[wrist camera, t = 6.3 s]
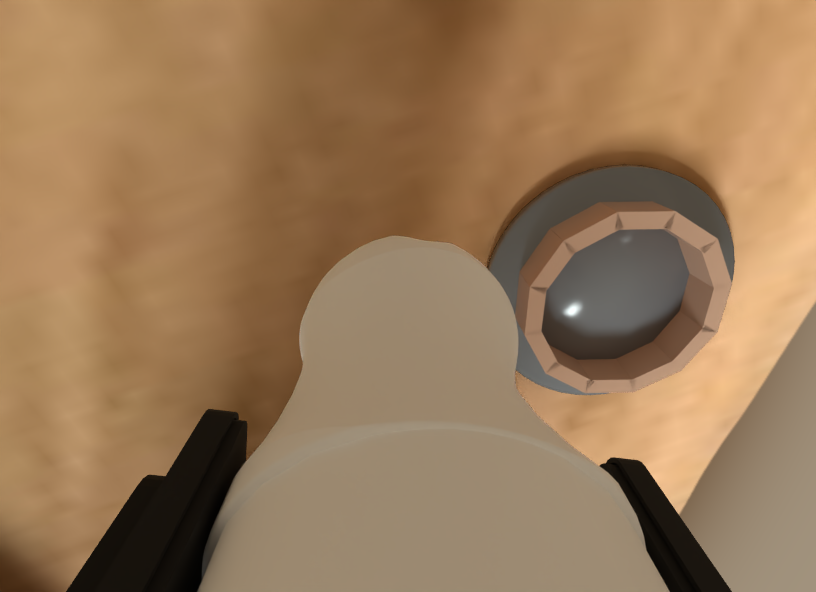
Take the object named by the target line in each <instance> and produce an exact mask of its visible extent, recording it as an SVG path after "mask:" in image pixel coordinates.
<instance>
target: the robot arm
mask: <svg viewBox="0 0 816 592" xmlns="http://www.w3.org/2000/svg"><path fill="white" fill-rule="evenodd" d="M246 443H247V422H246V421H241V420H239V416H238V413H237V412H230V411H221V410H213V409H208V410H206V412H205V413H204V415H203V416H202V418H201V419H200V421H199V423H198V424H197V426H196V428H195V429H194V431H193V432H192V434H191V436H190V437H189V439H188V441H187V442H186V444H185V446H184V447H183V449H182V450H181V452H180V454H179V455H178V457H177V459H176V460H175V462H174V463H173V465H172V467H171V468H170V470H169V472H168V473H167V475H166V476H157V475H147V476H146V477H145V478H143V479H142V481H141V482H140V483H139V484H138V486H137V487H136V489H135V490H134V492H133V493H132V494H131V496H130V497H129V499H128V500H127V502H126V503H125V505H124V506H123V508H122V509H121V511H120V512H119V514H118V515H117V517H116V518H115V520H114V521H113V523H112V524H111V526H110V527H109V529H108V530H107V532H106V533H105V535H104V536H103V538H102V539H101V541H100V542H99V544H98V545H97V547H96V548H95V549H94V551H93V552H92V554H91V555H90V557H89V558H88V560H87V561H86V563H85V564H84V566H83V567H82V569H81V570H80V572H79V573H78V575H77V576H76V578H75V579H74V581H73V582H72V584H71V585H70V587H69V588H68V590H67V591H66V592H197V590H198V588H199V586H200V583H201V581H202V561H203V554H204V549H205V546H206V543H207V540H208V537H209V534H210V531H211V529H212V527H213V524H214V522H215V520H216V517H217V515H218V513H219V511H220V508H221V506H222V504H223V501H224V499H225V497H226V494H227V492H228V490H229V488H230V486H231V483H232V481H233V479H234V477H235V475H236V474H237V473H238V471H239V470H240V469H241V467H242V466H243V465H244V463H245V462H246ZM600 467H601V468H602V469H604V470H605V471H606V472H608V473H609V474H610V475H611V476H612V477H613V478H614V479H615V480H616V481H617V482H618V484H619V486H620V487H621V489H622V491H623V492H624V494H625V496H626V498H627V499H628V501H629V503H630V505H631V506H632V508H633V510H634V512H635V513H636V515H637V518H638V521H639V523H640V526H641V529H642V532H643V535H644V540H645V546H646V551H647V553H648V554H649V556H650V558H651V560H652V561H653V563H654V565H655V567H656V568H657V570H658V572H659V574H660V576H661V577H662V579H663V581H664V583H665V584H666V586H667V588H668V590H669V591H670V592H732V591H731V590H730V588H729V587H728V585H727V584H726V583H725V581H724V580H723V578H722V577H721V575H720V574H719V572H718V571H717V570H716V568H715V567H714V565H713V564H712V562H711V561H710V560H709V558H708V557H707V555H706V554H705V552H704V551H703V549H702V548H701V546H700V545H699V544H698V542H697V541H696V540H695V538H694V536H693V535H692V534H691V532H690V531H689V529H688V528H687V526H686V525H685V523H684V522H683V521H682V519H681V518H680V516H679V515H678V513H677V512H676V510H675V509H674V507H673V506H672V504H671V503H670V502H669V500H668V499H667V497H666V496H665V494H664V493H663V491H662V490H661V489H660V487H659V486H658V484H657V483H656V481H655V480H654V478H653V477H652V476H651V474H650V473H649V471H648V470H647V468H646V467H645V466H644V464H643V463H642V462H640V461H638V460H631V459H622V458H610V459H609V460H608V461H607V462H606V464H605V463H604V464H601V465H600Z"/></svg>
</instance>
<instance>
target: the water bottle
mask: <svg viewBox="0 0 816 592" xmlns="http://www.w3.org/2000/svg"><path fill="white" fill-rule="evenodd" d="M299 345H300V352H301V357H302V361H303V367H302V371H301V375H300V377H299V379H298V382H297V384H296V387H295V389H294V391H293V394H292V396H291V398H290V399H289V401H288V403H287V405H286V407H285V408H284V410H283V412H282V414H281V415H280V417H279V419H278V421H277V422H276V423H275V425H274V426H273V428H272V429H271V431H270V432H269V433H268V435H267V436H266V438H265V439H264V441H263V442H262V443H261V444H260V446H259V447H258V448H257V449H256V450H255V452H254V453H253V454H252V455H251V456H250V457H249V459H248V460H247V461H246V462H245V463H244V465H243V466H242V467H241V469H240V470H239V471H238V473H237V474H236V475H235V477H234V479H233V481H232V483H231V486H230V488H229V490H228V492H227V494H226V497H225V499H224V501H223V504H222V506H221V508H220V511H219V513H218V515H217V517H216V520H215V522H214V524H213V527H212V529H211V531H210V534H209V537H208V540H207V543H206V546H205V549H204V554H203V561H202V581H201V583H200V586H199V588H198V590H197V592H670V591H669V590H668V588H667V586H666V584H665V583H664V581H663V579H662V577H661V576H660V574H659V572H658V570H657V568H656V567H655V565H654V563H653V561H652V560H651V558H650V556H649V554H648V553H647V551H646V546H645V540H644V535H643V532H642V529H641V526H640V523H639V521H638V518H637V515H636V513H635V512H634V510H633V508H632V506H631V505H630V503H629V501H628V499H627V498H626V496H625V494H624V492H623V491H622V489H621V487H620V486H619V484H618V482H617V481H616V480H615V479H614V478H613V477H612V476H611V475H610V474H609V473H608V472H606V471H605V470H604V469H602V468H601V467H600V466H598V465H597V464H596V463H594V462H593V461H591V460H590V459H589V458H587V457H586V456H585V455H583V454H582V453H581V452H579V451H578V450H577V449H575V448H574V447H572V446H571V445H570V444H569V443H568V442H567V441H565V440H564V439H563V438H562V437H561V436H560V435H559V434H558V433H557V432H555V431H554V430H553V429H552V428H551V427H550V426H549V425H548V424H547V423H545V422H544V421H543V420H542V419H541V418H540V417H539V416H538V415H537V414H536V413H535V412H534V410H533V409H532V408H531V407H530V405H529V404H528V403H527V402H526V401H525V399H524V398H523V397H522V396H521V395H520V393H519V392H518V390H517V388H516V382H515V370H516V364H517V357H518V329H517V323H516V318H515V314H514V311H513V308H512V305H511V303H510V300H509V298H508V296H507V295H506V293H505V291H504V289H503V288H502V286H501V285H500V283H499V282H498V281H497V279H496V278H495V277H494V276H493V275H492V273H491V272H490V271H489V270H488V269H487V268H486V267H485V266H484V265H483V264H482V263H481V262H480V261H479V260H477V259H476V258H475V257H473V256H472V255H471V254H469V253H468V252H467V251H465V250H463V249H461V248H459V247H458V246H456V245H454V244H451V243H447V242H439V241H437V242H434V241H425V240H420V239H414V238H411V237H404V236H389V237H385V238H382V239H378V240H374V241H372V242H370V243H367V244H365V245H363V246H361V247H359V248H357V249H356V250H354V251H353V252H351V253H350V254H348V255H347V256H346V257H344V258H343V259H341V260H340V261H339V262H338V263H337V264H336V265H335V266H334V267H333V268H332V269H331V270H330V271H329V272H328V273H327V274H326V275H325V276H324V278H323V279H322V280H321V282H320V283H319V285H318V286H317V288H316V290H315V291H314V293H313V295H312V297H311V299H310V301H309V303H308V306H307V308H306V311H305V313H304V315H303V318H302V322H301V326H300V333H299Z"/></svg>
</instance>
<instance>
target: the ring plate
mask: <svg viewBox="0 0 816 592" xmlns="http://www.w3.org/2000/svg"><path fill="white" fill-rule="evenodd" d="M734 263H735V260H734V246H733V241H732V237H731V232H730V230H729V227H728V225H727V222H726V220H725V218H724V216H723V214H722V213H721V211H720V209H719V208H718V206H717V205H716V204H715V203H714V202H713V201H712V199H711V198H710V197H709V196H708V195H707V194H706V193H705V192H703V191H702V190H701V189H700V188H698V187H697V186H696V185H694V184H693V183H691V182H689V181H687V180H685V179H684V178H682V177H679V176H677V175H674V174H671V173H668V172H665V171H662V170H659V169H654V168H650V167H645V166H636V165H616V166H606V167H601V168H596V169H591V170H588V171H585V172H582V173H579V174H576V175H573V176H571V177H569V178H567V179H565V180H563V181H561V182H558V183H556V184H555V185H553V186H552V187H550V188H548V189H547V190H545V191H544V192H542V193H541V194H539V195H538V196H537V197H536V198H535V199H533V200H532V201H531V202H530V203H528V204H527V205H526V206H525V207H524V208H523V209H522V210H521V211H520V212H519V213H518V215H517V216H516V217H515V218H514V219H513V220H512V222H511V223H510V224H509V226H508V227H507V228H506V230H505V231H504V233H503V234H502V236H501V238H500V239H499V241H498V243H497V245H496V247H495V249H494V251H493V254H492V256H491V258H490V261H489V265H488V268H487V269H488V270H489V271H490V272H491V273H492V275H493V276H494V277H495V278H496V279H497V281H498V282H499V283H500V285H501V286H502V288H503V289H504V291H505V293H506V295H507V296H508V298H509V300H510V303H511V305H512V308H513V311H514V314H515V318H516V323H517V329H518V357H517V364H516V370H517V371H518V372H519V373H521V374H522V375H523V376H524V377H526V378H528V379H529V380H531V381H533V382H534V383H536V384H538V385H541V386H543V387H546V388H548V389H551V390H555V391H558V392H562V393H569V394H575V395H597V394H607V393H621V392H635V391H637V390H640V389H642V388H644V387H646V386H648V385H651V384H653V383H655V382H657V381H660V380H662V379H664V378H666V377H668V376H671V375H673V374H675V373H677V372H679V371H681V370H682V369H683V368H684V367H685V366H686V365H687V364H688V363H689V362H690V361H691V360H692V359H693V358H694V357H695V355H696V354H697V353H698V352H699V351H700V350H701V349H702V348H703V347H704V346H705V345H706V344H707V343H708V342H709V341H710V339H711V338H712V337H713V336H714V335H715V334H716V333H717V332H718V329H719V325H720V322H721V319H722V315H723V312H724V309H725V306H726V302H727V299H728V296H729V292H730V289H731V286H732V280H733V274H734Z"/></svg>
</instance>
